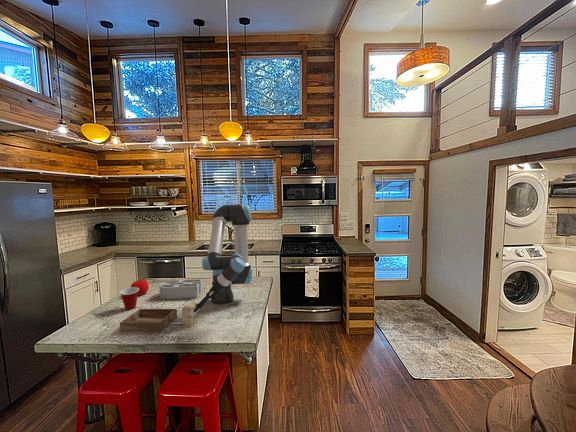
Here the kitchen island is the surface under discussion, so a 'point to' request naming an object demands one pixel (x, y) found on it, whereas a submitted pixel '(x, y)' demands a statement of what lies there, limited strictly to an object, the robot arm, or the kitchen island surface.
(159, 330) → the walnut crate
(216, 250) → the robot arm
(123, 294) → the plastic cup
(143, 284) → the tomato
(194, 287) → the grey compartment tray
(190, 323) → the oak peg
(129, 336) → the kitchen island surface
